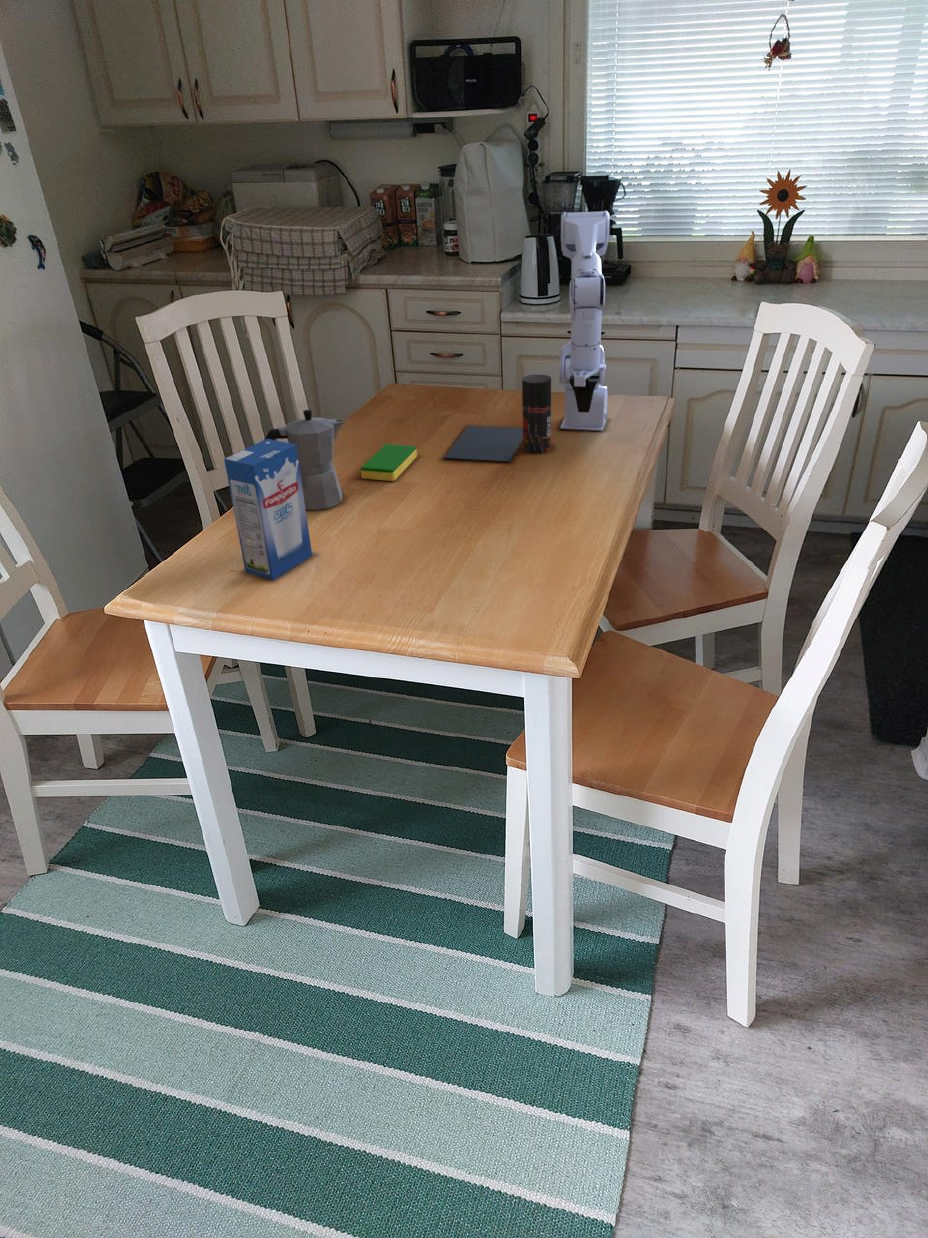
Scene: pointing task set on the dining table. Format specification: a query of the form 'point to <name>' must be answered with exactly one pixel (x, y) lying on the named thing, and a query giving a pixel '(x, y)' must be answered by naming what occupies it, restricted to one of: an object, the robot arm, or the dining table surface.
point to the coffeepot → (314, 458)
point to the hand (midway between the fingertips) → (583, 411)
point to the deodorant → (536, 413)
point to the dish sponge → (389, 462)
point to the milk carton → (269, 507)
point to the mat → (486, 444)
